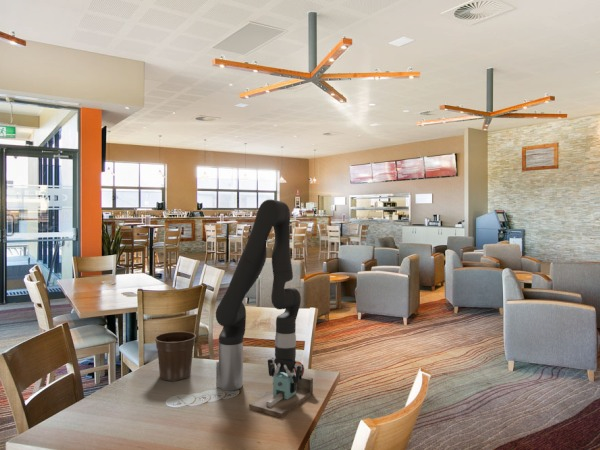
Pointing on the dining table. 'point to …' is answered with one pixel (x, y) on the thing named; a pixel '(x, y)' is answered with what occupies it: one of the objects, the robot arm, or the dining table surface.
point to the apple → (299, 364)
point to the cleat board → (283, 399)
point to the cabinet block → (282, 385)
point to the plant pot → (175, 354)
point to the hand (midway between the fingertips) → (284, 390)
